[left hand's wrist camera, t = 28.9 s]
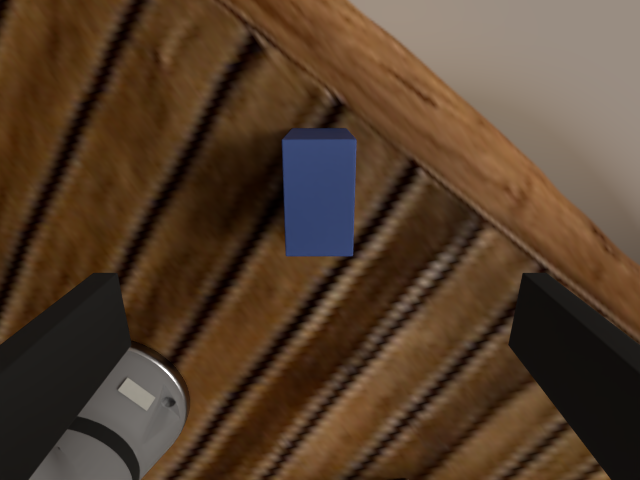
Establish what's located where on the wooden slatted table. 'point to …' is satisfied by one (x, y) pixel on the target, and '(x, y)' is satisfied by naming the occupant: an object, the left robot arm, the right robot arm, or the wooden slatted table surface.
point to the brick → (319, 191)
